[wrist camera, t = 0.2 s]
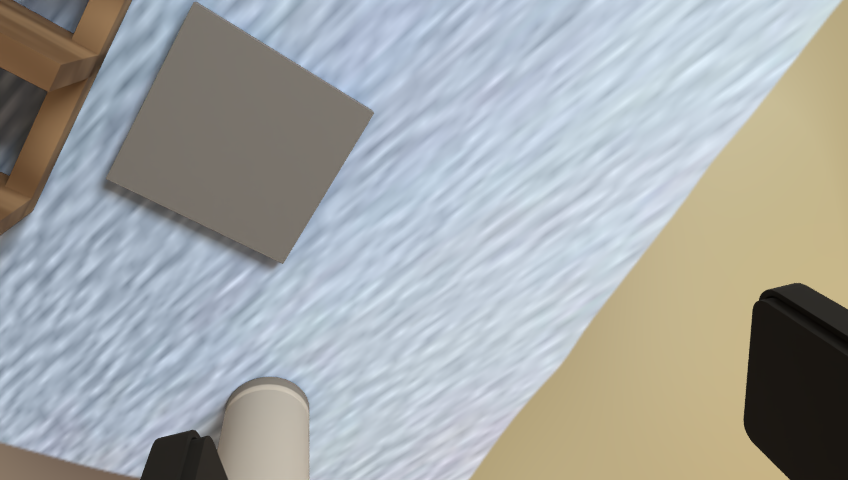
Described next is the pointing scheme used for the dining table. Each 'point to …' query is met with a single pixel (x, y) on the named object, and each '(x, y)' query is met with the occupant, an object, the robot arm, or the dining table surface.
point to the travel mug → (266, 432)
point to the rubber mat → (238, 136)
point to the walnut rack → (50, 88)
